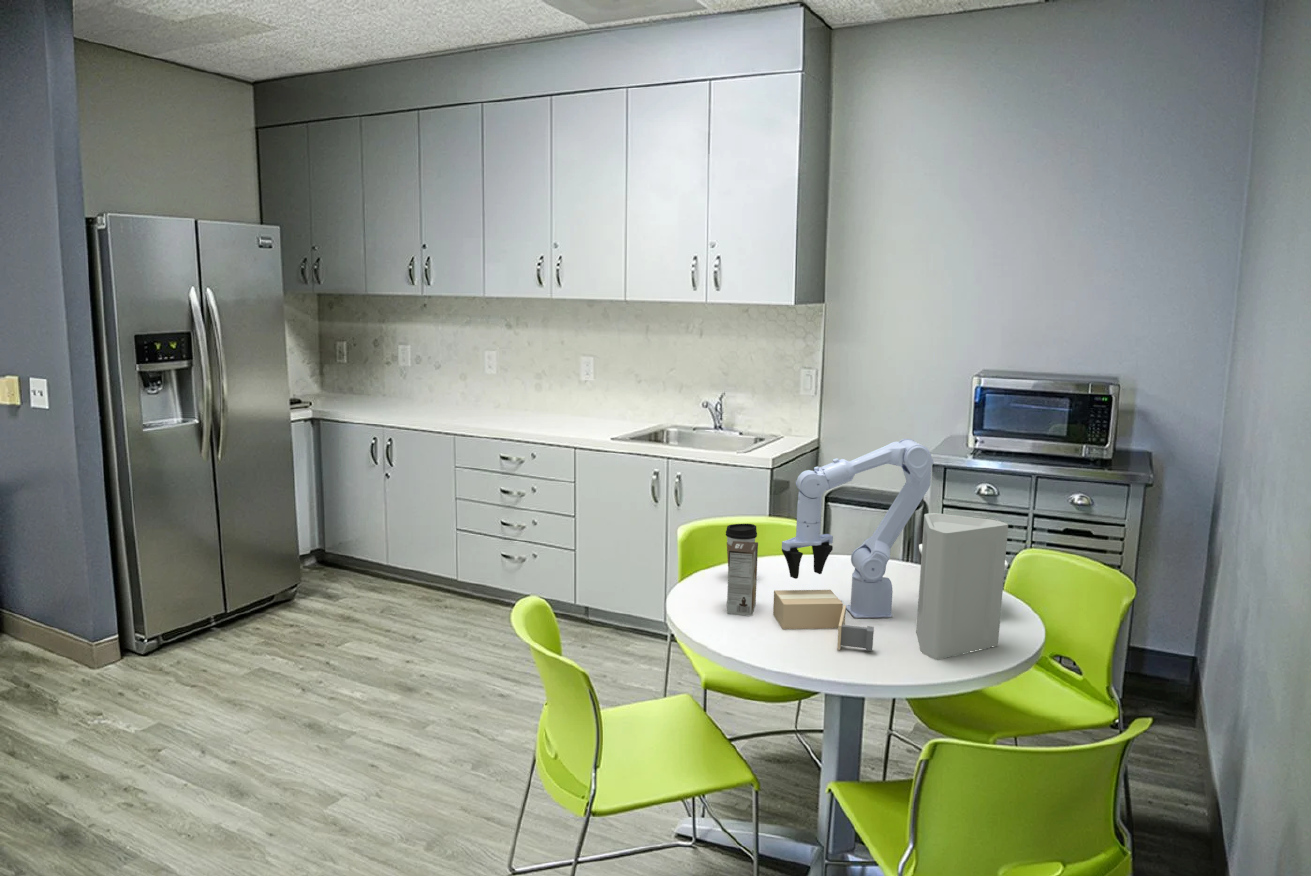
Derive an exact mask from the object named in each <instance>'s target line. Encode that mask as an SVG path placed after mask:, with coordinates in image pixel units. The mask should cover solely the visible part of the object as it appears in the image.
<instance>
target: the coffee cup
mask: <svg viewBox="0 0 1311 876" xmlns="http://www.w3.org/2000/svg"><path fill="white" fill-rule="evenodd" d="M757 531H758V530H757V525H755V524H753V523H735V524H733V523H732V524H729V525H727V526H726V530H725V536H726V539H727V541H726V553H727V556H726V557H727V562H728V561H729V549H730V547H731V545H732V543H733V541H742V542H756V538H757V537H758V532H757Z"/></svg>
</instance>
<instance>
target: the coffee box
mask: <svg viewBox="0 0 1311 876" xmlns="http://www.w3.org/2000/svg"><path fill="white" fill-rule="evenodd" d="M758 549H759V542H757V541H755V542H742V541H733V543H732V545H731V547H730V549H729V561H728V560H727V567H728V568H727V595H726V597H727V599H726V614H727V615H735V616H736V615H738V616H747V617H749V616H750V617H752V616H753V613H754V612H755V608H756V604H757V581H758V576H757V575H758Z"/></svg>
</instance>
